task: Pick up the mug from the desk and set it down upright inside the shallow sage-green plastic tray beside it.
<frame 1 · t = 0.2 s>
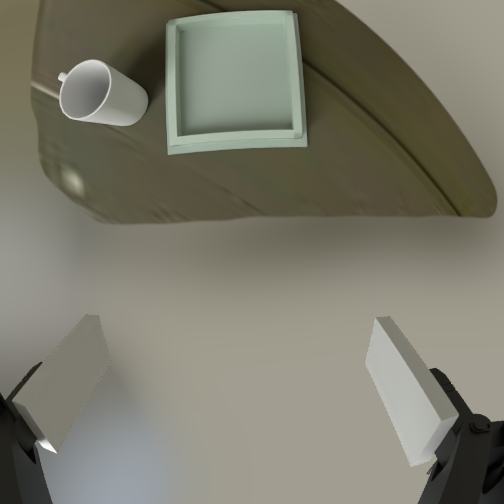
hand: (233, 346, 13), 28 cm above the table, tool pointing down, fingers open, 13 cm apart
tray: (233, 76, 33), on the table
mug: (120, 100, 34), on the table
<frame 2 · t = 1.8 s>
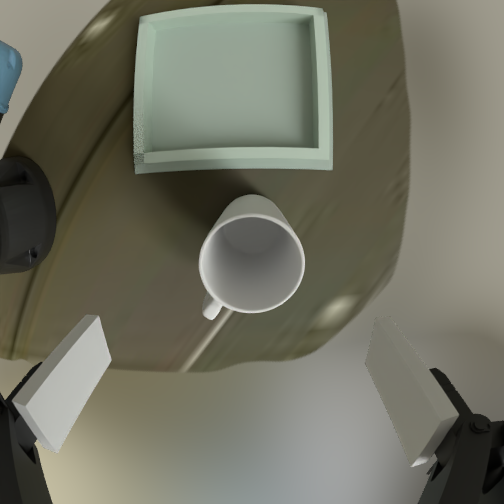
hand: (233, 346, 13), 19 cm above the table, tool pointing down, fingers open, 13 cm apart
tray: (230, 81, 26), on the table
mug: (242, 236, 31), on the table
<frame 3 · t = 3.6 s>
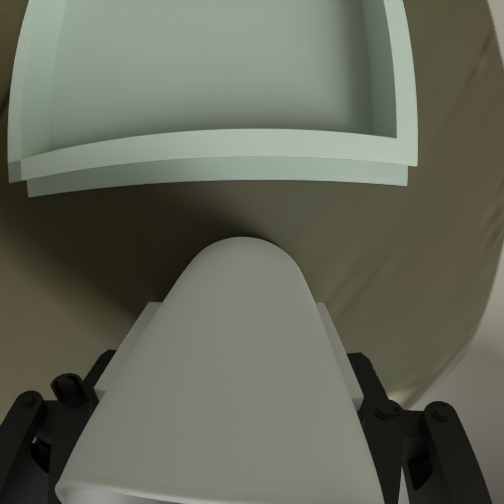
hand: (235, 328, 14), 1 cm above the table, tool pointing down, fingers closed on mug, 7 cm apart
tray: (199, 7, 10), on the table
mug: (225, 315, 15), on the table, touching gripper
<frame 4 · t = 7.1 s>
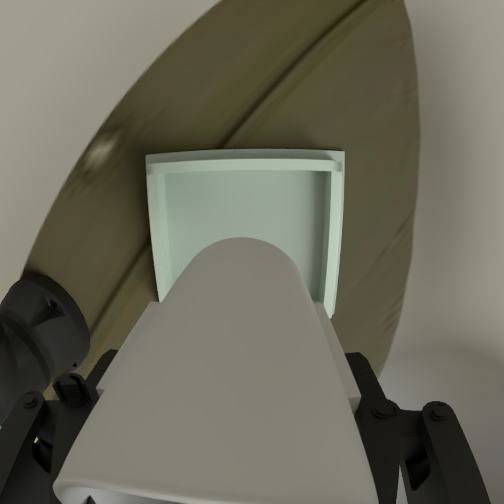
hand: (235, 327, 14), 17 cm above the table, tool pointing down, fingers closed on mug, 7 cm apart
tray: (245, 237, 30), on the table
mug: (224, 315, 15), point 16 cm above the table, touching gripper
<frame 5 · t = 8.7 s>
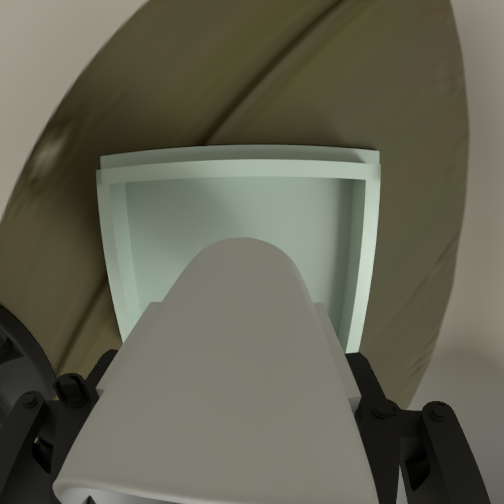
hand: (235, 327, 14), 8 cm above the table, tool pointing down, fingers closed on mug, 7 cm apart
tray: (238, 271, 22), on the table
mug: (224, 315, 15), point 7 cm above the table, touching gripper
when the fingers open (3 cm above the table, at t = 10.1 s): mug drops 1 cm, resting on tray.
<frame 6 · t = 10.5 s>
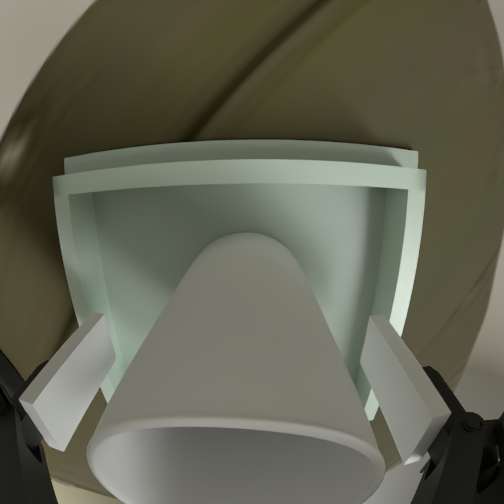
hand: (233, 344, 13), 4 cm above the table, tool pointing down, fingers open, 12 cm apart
tray: (238, 304, 17), on the table
mug: (230, 306, 17), resting on tray
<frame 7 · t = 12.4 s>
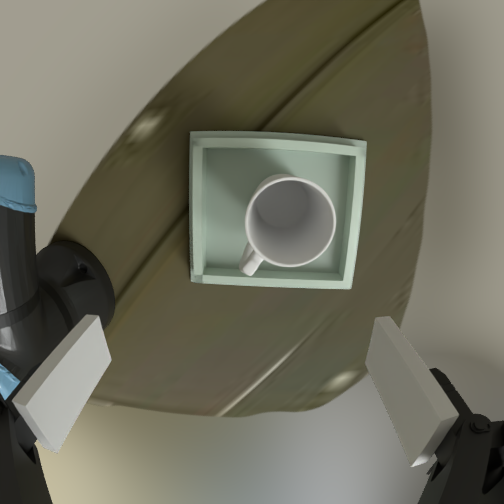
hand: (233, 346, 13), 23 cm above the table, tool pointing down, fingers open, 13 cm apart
tray: (276, 211, 34), on the table
mug: (272, 212, 33), resting on tray
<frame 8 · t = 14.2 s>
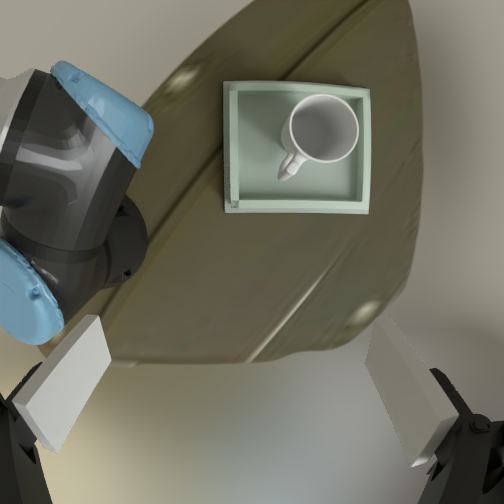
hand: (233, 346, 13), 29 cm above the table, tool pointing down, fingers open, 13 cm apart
tray: (299, 145, 37), on the table
mug: (296, 146, 37), resting on tray
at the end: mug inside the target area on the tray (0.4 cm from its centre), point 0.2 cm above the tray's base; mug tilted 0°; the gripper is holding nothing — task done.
